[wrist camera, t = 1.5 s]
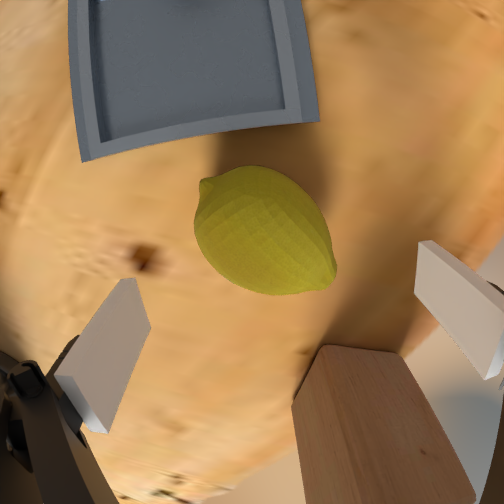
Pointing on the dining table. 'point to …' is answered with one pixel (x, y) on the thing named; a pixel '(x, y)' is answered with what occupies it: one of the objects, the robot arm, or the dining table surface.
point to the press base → (185, 70)
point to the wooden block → (372, 434)
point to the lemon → (264, 232)
